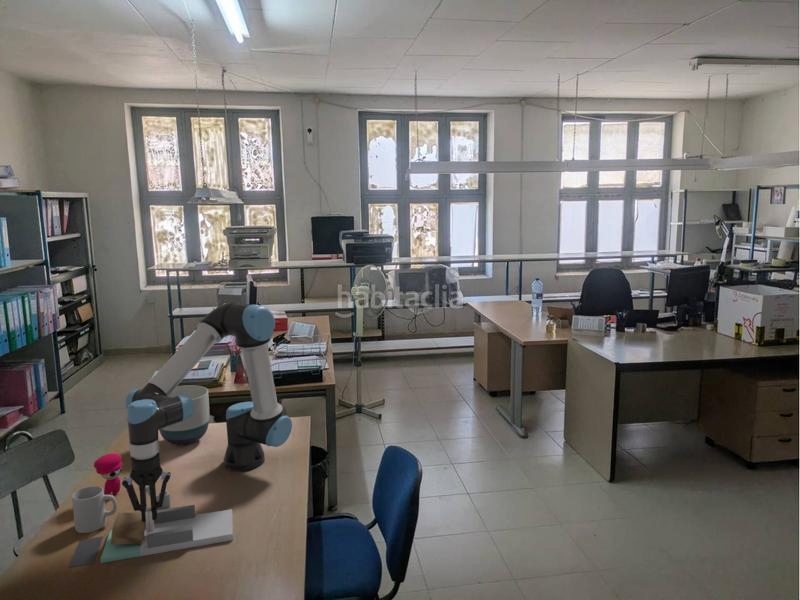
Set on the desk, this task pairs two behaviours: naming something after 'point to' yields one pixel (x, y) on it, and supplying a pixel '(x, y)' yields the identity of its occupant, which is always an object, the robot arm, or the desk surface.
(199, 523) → the plate
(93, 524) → the mug
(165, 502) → the lighter
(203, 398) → the planter
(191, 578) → the desk surface
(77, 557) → the mat
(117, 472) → the toy
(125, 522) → the block
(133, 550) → the tile
